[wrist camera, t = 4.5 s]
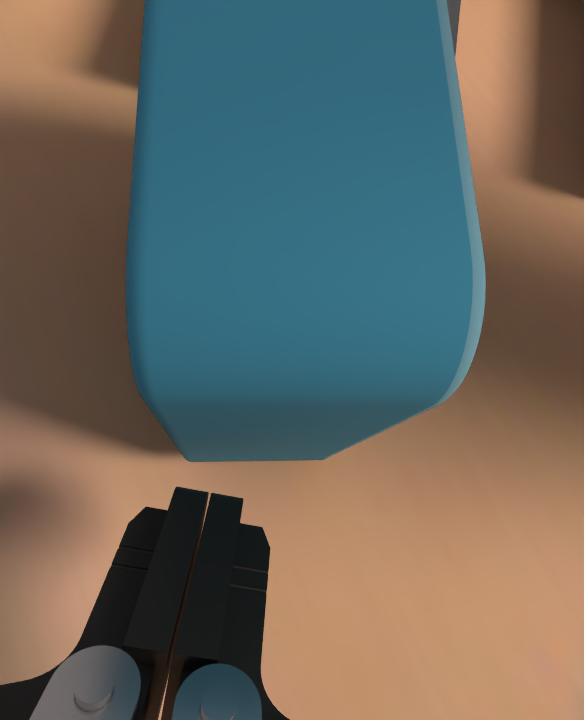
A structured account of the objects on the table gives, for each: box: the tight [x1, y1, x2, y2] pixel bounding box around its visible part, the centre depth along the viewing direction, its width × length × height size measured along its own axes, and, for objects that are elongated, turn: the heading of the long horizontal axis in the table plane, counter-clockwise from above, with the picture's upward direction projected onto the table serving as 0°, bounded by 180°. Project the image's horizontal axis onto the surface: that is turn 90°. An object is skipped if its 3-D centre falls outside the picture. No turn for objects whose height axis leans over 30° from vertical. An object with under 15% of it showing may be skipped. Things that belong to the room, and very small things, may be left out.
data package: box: [126, 0, 486, 462], centre depth 13 cm, size 12×4×12 cm, turn 2°
